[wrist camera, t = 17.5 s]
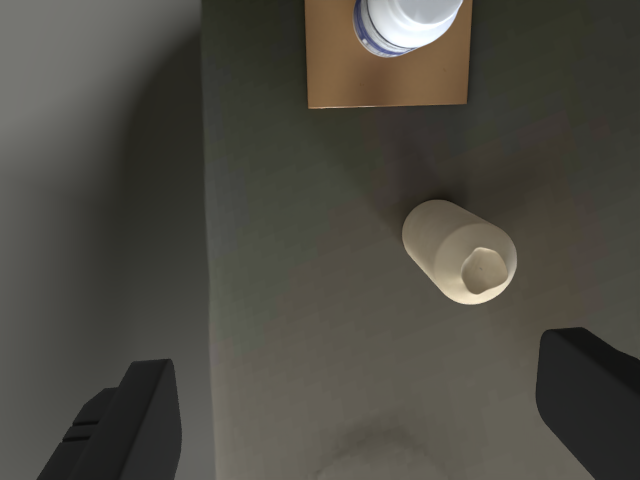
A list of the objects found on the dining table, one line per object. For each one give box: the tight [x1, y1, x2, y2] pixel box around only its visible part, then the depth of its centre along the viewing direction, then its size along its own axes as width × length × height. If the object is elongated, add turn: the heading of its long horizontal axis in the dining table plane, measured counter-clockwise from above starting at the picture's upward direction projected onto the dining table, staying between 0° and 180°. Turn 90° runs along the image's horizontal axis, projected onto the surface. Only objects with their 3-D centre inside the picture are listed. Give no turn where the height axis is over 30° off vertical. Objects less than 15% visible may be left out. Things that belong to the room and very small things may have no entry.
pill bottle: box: [353, 0, 463, 57], centre depth 29 cm, size 5×5×10 cm
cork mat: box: [304, 0, 472, 108], centre depth 34 cm, size 12×12×1 cm
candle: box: [402, 200, 517, 304], centre depth 34 cm, size 6×6×10 cm
